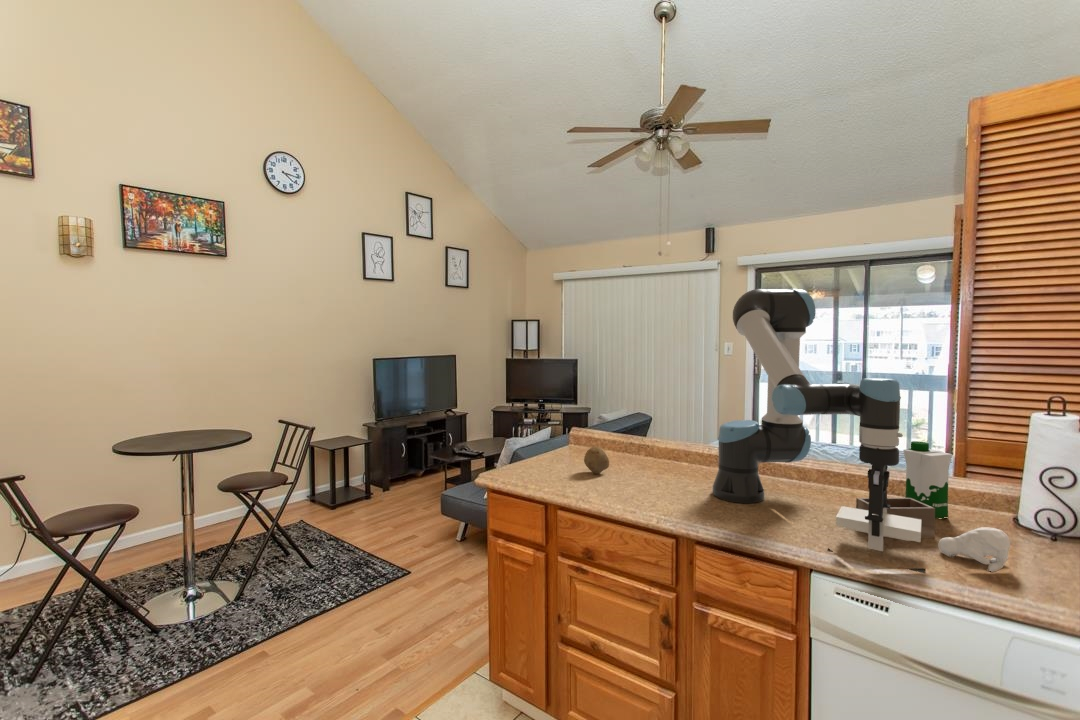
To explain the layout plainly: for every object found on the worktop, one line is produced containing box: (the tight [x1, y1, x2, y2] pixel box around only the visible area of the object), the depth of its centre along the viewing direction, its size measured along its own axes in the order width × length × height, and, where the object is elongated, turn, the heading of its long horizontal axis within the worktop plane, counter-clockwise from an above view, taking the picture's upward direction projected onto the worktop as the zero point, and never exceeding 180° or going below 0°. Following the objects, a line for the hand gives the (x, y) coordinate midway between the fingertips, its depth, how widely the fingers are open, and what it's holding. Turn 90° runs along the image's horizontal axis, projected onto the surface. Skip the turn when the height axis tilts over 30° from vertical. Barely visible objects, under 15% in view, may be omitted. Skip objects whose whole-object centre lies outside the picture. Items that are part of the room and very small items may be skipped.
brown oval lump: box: [583, 446, 610, 475], centre depth 182 cm, size 9×9×10 cm
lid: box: [835, 505, 922, 543], centre depth 113 cm, size 10×16×3 cm, turn 51°
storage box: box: [855, 497, 936, 539], centre depth 124 cm, size 8×14×8 cm, turn 89°
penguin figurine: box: [937, 526, 1011, 573], centre depth 108 cm, size 6×8×12 cm
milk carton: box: [903, 440, 953, 519], centre depth 136 cm, size 9×9×20 cm
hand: (877, 542), depth 114 cm, fingers closed on lid, 10 cm apart
